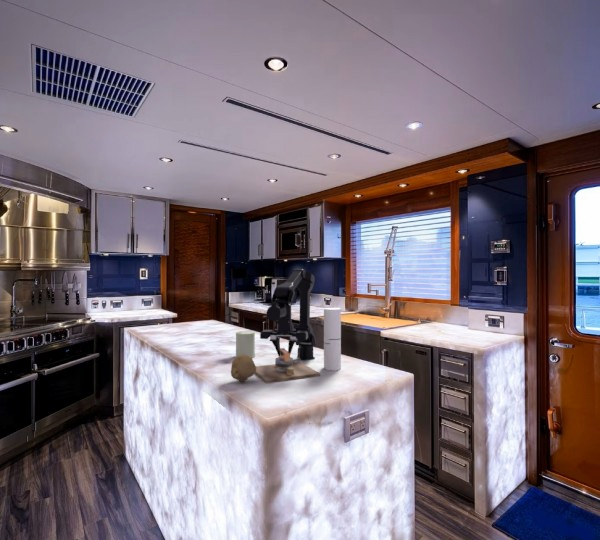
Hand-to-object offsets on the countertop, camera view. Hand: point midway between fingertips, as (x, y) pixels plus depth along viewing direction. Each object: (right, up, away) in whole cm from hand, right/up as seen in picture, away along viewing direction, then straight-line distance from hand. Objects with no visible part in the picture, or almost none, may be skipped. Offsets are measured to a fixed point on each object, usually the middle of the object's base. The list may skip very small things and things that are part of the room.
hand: (284, 356), depth 143 cm
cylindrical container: (+20, -7, +7) cm, 22 cm away
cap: (0, -3, 0) cm, 3 cm away
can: (-20, -7, +27) cm, 34 cm away
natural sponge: (-15, -7, -12) cm, 20 cm away
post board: (0, -7, 0) cm, 7 cm away
